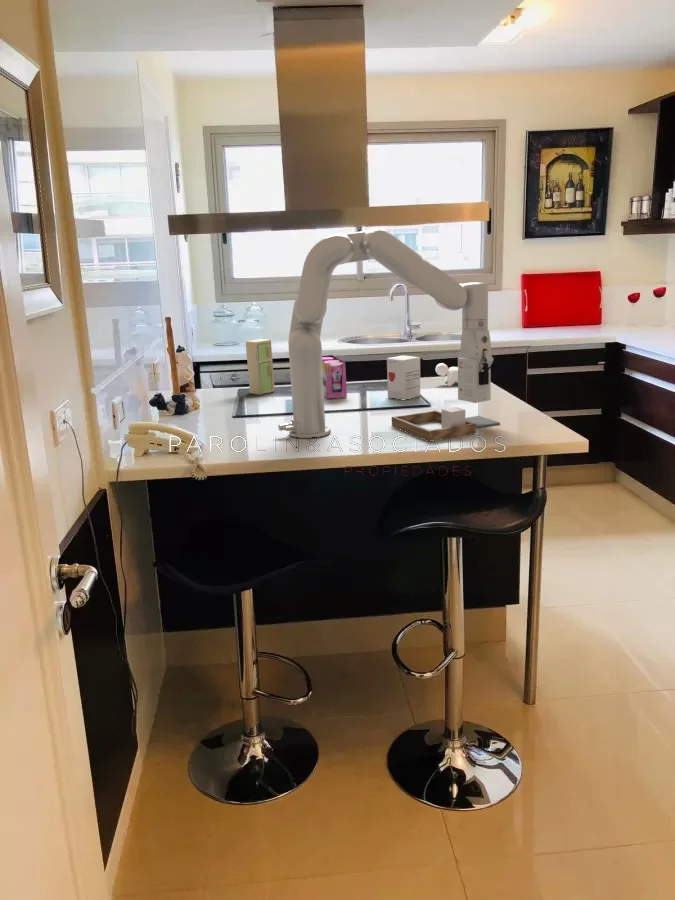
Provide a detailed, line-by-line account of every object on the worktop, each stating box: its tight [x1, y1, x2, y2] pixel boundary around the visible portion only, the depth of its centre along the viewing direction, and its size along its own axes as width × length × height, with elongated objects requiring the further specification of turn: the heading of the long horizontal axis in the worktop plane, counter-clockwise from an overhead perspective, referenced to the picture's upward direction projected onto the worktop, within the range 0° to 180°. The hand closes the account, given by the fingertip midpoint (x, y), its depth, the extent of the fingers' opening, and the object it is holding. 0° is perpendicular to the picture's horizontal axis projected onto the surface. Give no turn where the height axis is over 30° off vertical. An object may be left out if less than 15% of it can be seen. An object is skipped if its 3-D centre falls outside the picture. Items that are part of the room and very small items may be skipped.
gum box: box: [322, 354, 348, 400], centre depth 272 cm, size 24×8×14 cm, turn 13°
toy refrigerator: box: [245, 338, 276, 395], centre depth 279 cm, size 8×7×21 cm
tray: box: [391, 409, 477, 442], centre depth 210 cm, size 16×22×3 cm
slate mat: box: [465, 415, 501, 429], centre depth 216 cm, size 11×11×1 cm
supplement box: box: [386, 355, 421, 401], centre depth 258 cm, size 9×9×15 cm
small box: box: [457, 357, 492, 404], centre depth 212 cm, size 8×6×13 cm
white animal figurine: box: [434, 362, 458, 387], centre depth 280 cm, size 9×8×15 cm
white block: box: [441, 406, 466, 428], centre depth 206 cm, size 5×5×7 cm
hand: (474, 382), depth 213 cm, fingers closed on small box, 8 cm apart
